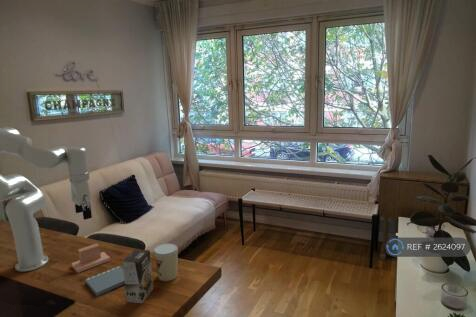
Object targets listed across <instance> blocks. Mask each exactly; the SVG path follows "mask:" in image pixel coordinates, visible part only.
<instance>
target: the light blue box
mask: <svg viewBox="0 0 476 317" xmlns="http://www.w3.org/2000/svg"><path fill="white" fill-rule="evenodd" d="M85 284H86V285H87V286H88V288H89V289H90V290H91V291H92V292H93V293H94V295H95V296H96V297H98V296H101V295H103V294H106V293H107V292H110V291H112V290H114V289H117V288H119V287H121V286H123V285H124V286H125V279H124V271H123V267H121V265H119V266H116V267H114V268H111V269H109V270H106V271H103V272H101V273H98V274H97V275H93V276H91V277H88V278H86V279H85Z"/></svg>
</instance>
